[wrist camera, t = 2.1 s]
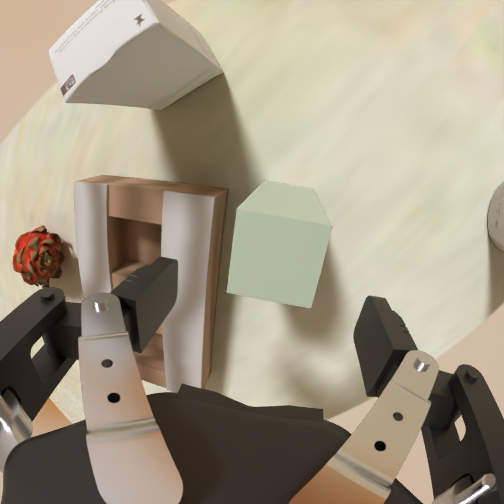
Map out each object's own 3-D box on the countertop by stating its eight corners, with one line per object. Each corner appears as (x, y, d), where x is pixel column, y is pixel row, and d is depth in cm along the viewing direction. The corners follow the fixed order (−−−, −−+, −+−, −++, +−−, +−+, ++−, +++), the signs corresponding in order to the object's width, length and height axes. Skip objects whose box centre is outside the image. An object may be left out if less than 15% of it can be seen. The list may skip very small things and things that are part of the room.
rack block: (228, 189, 28) (214, 198, 23) (210, 373, 38) (200, 399, 33) (102, 175, 30) (74, 181, 25) (115, 344, 39) (98, 364, 34)
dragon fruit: (83, 232, 35) (53, 257, 40) (38, 201, 29) (16, 234, 34) (67, 285, 30) (40, 302, 35) (13, 255, 24) (-2, 279, 29)
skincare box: (202, 35, 23) (133, -31, 9) (226, 75, 24) (163, 18, 10) (138, 75, 25) (43, 47, 11) (158, 116, 26) (60, 104, 13)
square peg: (314, 189, 27) (332, 226, 14) (304, 236, 29) (311, 308, 16) (264, 180, 28) (236, 208, 15) (257, 227, 29) (226, 292, 16)
